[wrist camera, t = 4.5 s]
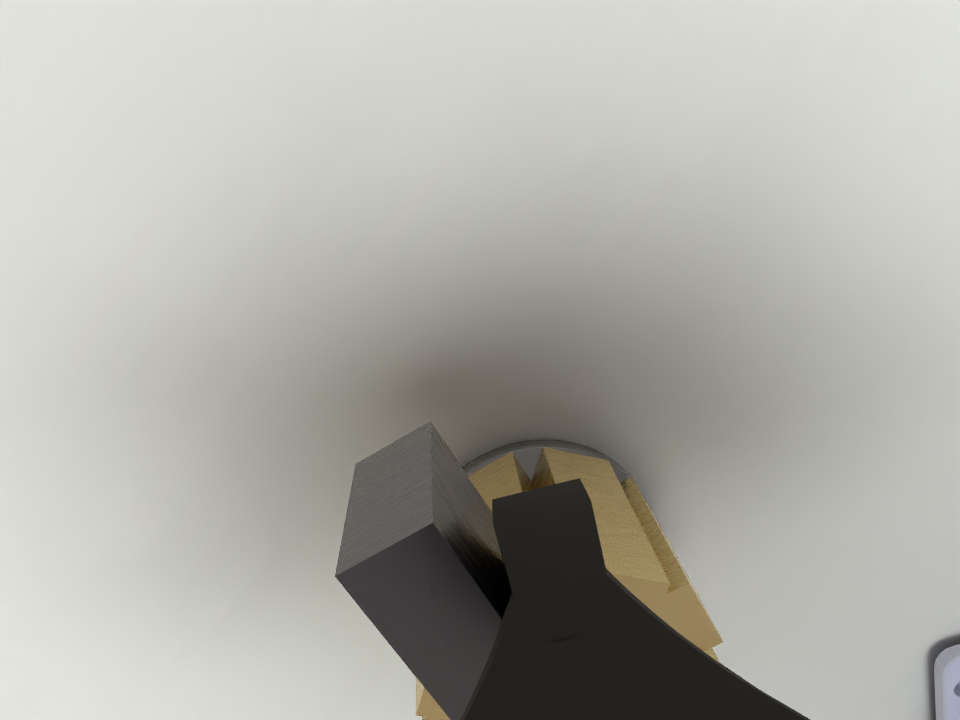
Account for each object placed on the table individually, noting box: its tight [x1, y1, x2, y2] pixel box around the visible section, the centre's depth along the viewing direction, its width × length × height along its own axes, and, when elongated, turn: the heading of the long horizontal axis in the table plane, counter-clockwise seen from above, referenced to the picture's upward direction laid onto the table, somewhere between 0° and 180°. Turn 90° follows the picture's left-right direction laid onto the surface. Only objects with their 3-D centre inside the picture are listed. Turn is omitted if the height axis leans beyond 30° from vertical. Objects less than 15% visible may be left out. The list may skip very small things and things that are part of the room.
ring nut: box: [335, 422, 723, 720], centre depth 12 cm, size 8×5×6 cm, turn 30°
